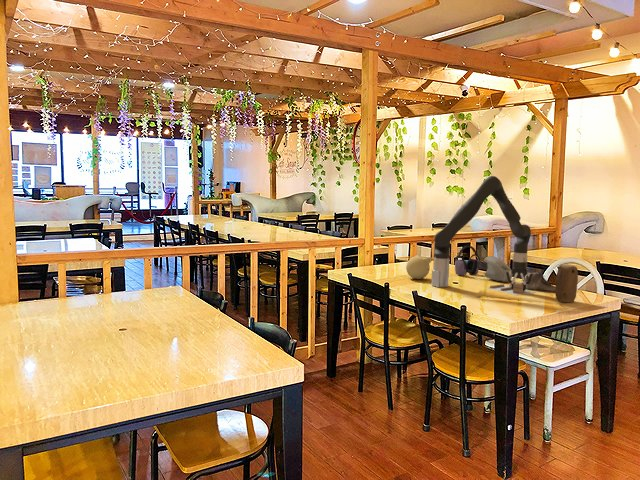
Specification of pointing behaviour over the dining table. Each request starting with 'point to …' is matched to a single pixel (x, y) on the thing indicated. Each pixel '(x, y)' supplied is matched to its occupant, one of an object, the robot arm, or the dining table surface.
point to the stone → (566, 283)
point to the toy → (418, 267)
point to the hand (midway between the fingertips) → (518, 290)
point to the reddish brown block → (518, 287)
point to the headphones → (467, 264)
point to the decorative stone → (497, 269)
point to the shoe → (539, 283)
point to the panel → (507, 289)
